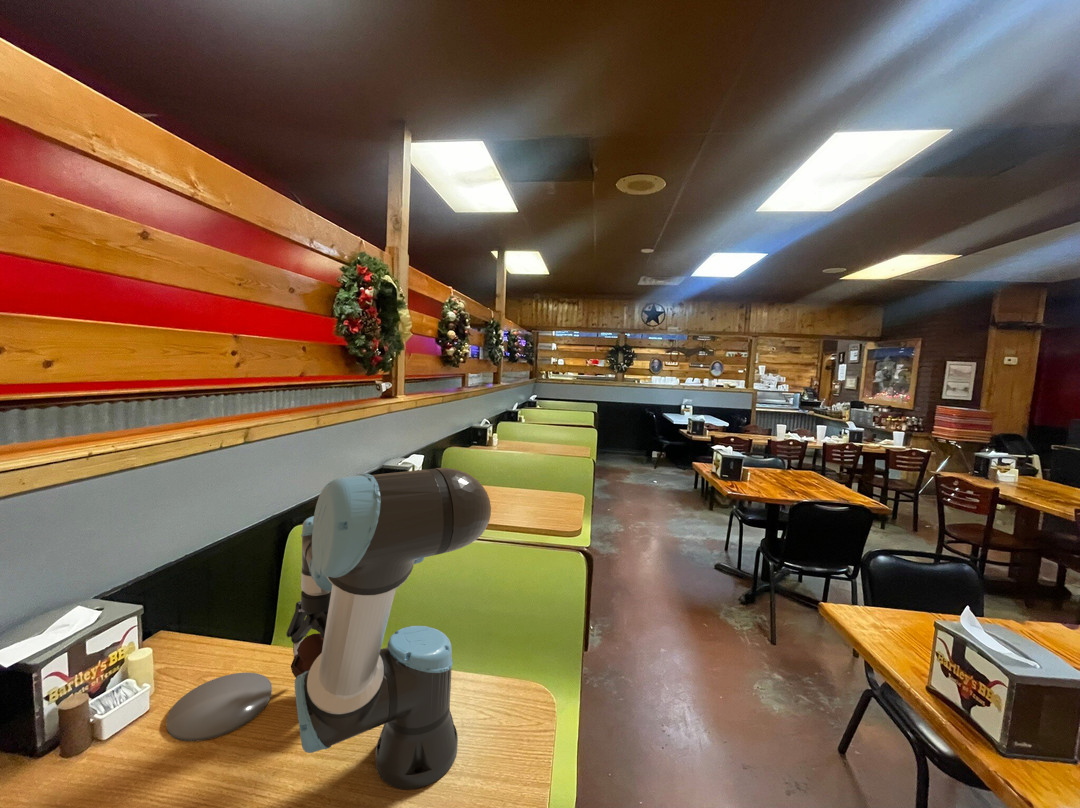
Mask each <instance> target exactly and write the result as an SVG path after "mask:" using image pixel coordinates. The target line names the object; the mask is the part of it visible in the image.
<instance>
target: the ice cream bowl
mask: <svg viewBox="0 0 1080 808" xmlns="http://www.w3.org/2000/svg"><path fill="white" fill-rule="evenodd" d="M323 642H324V638H322V636H321V634H320V633H319V632H318V633H312V634H309V635H307V636H306V637H304V638H303V640H302V641H301V643H300V644H299V647H298V649H297V652H298V654H297V655H295V656H294V655H293V658H292V659H293V660H292V662H291V665H290V669H291V673H292V674H293V676H294V678H296V677H297V676H298V675H300V674H303V673H304V672H305V671H309V670H310V668H311V666H312V664H313V663H314V661H315V660H316V658H317V657H318V656H319V655H320V654H321V653H322V648H323Z"/></svg>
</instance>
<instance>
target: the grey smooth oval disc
mask: <svg viewBox="0 0 1080 808" xmlns="http://www.w3.org/2000/svg"><path fill="white" fill-rule="evenodd" d="M272 688H273V687H272V683H271V680H270V679H269V678H268V677H267V676H265V675H263V674H260V673H257V672H236V673H231V674H225V675H223V676H219V677H216V678H214V679H211V680H208V681H206V682H204V683H202V684H200V685H198V686H196V687H195V688H193V689H191V690H189V692H187V693H185V694H184V695H183V696H182V697H180V698H179V699H178V700H177V701H176V702H175V703H174V705H173V706H172V707H171V708H170V710H169V712H168V714H167V716H166V720H165V721H166V730H167V733H168V734H169V736H170V737H172V738H174V739H176V740H178V741H182V742H200V741H201V742H202V741H207V740H211V739H215V738H218V737H221V736H225V735H227V734H229V733H232V732H234V731H235V730H238V729H240V728H242V727H243V726H245V725H246V724H248V723H250V722H251V721H253V719H255V718H256V717H257V716H258V715H259V714H260V713H262V712H263V710H264V709H265V708H266V707H267V705H268V704H269V702H270V700H271V697H272V692H273V689H272Z"/></svg>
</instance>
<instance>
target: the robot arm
mask: <svg viewBox="0 0 1080 808" xmlns="http://www.w3.org/2000/svg"><path fill="white" fill-rule="evenodd" d="M491 516H492V506H491V500H490V497H489V494H488V492H487V491H486V489H485V487H484V485H482V484H481V482H480V481H479V480H477V478H475V477H474V476H472V475H471V474H469V473H467V472H466V471H462V470H459V469H456V468H451V467H450V468H447V467H436V468H430V469H429V468H428V469H417V470H409V471H399V472H389V473H380V474H379V473H378V474H371V473H365V472H364V473H363V472H362V473H358V474H356V475H351V476H346V477H345V476H344V477H339V478H335V479H333V480H331V481H329V482H328V483H327V484H326V485H325V486H324V487H323V489H322V490H321V492H320V494H319V496H318V498H317V502H316V505H315V510H314V513H313V516H310V517H307V518H306V519H305V520H303V523H302V529H301V530H302V531H301V535H300V537H301V573H300V575H301V579H300V581H301V582H300V589H301V593H300V600H299V601H297V602H295V609H294V613H293V615H292V618H291V621H290V624H289V626H288V628H287V630H286V637H287V638H291V639H290V640H291V642H292V644H293V645H292V648H293V649H292V654H293V657H294V656H295V655H297V654H298V652H297V649H298V647H299V644H300V643H301V641H302V640H303V639H304V638H305V637H307V636H308V634H309V632H310V631H311V630H315V631H317V632H318V633H320V634H321V636H322V638H324V642H323V648H322V653H321V654H320V655H319V656H318V657H317V658H316V660H315V661H314V663H313V664H312V666H311V668H310V670H309V671H305V672H304V673H303V674H300V675H298V676H297V677H295V679H294V693H295V695H294V696H295V704H296V705H295V706H296V711H297V720H298V726H299V727H298V728H299V736H300V743H301V748H302V750H303V751H304V752H305V753H308V754H311V753H315V752H319V751H321V750H328V749H330V748H332V746H335V745H337V744H339V743H341V742H344V741H346V740H348V739H350V738H351V739H352V738H354V737H356V736H358V735H361V734H363V733H365V732H368V731H371V730H373V729H376V728H377V727H378V728H379V727H380V726H382V725H383V726H382V729H381V732H380V735H379V737H378V740H377V743H376V748H375V760H374V762H375V764H374V765H375V770H376V772H377V775H378V776H379V778H380V779H381V780H382V781H383V782H384V783H386V784H387V785H388V786H391V787H393V788H396V789H400V790H416V789H420V788H421V789H422V788H424V787H426V786H429V785H431V784H433V783H435V782H437V781H438V780H439V779H441V778H442V777H444V775H446V773H448V771H449V770H450V769H451V767H452V766H453V764H454V763H455V759H456V757H457V753H458V746H459V745H458V743H459V742H458V741H459V739H458V736H459V735H458V732H457V727H456V725H455V724H454V719H453V715H452V711H451V709H450V708H451V691H452V690H451V689H452V668H453V664H454V663H453V662H454V661H453V655H452V653H453V652H452V650H453V649H452V643H451V641H450V639H449V637H447V634H445V633H444V632H442V631H441V630H439V629H436V628H434V627H430V626H425V625H411V626H406V627H403V628H400V629H398V630H396V631H395V632H394V633H393V634H392V635H391V636H390V637H389V639H388V642H387V647H384V648H383V647H382V646H383V642H384V638H385V633H386V629H387V627H388V621H389V618H390V614H391V612H392V611H391V610H392V606H393V602H394V599H395V595H396V591H397V589H398V588H400V587H401V586H402V585H403V584H404V583H405V582H406V581H407V579H408V578H409V577H410V575H411V574H412V571H413V568H414V565H417V564H420V563H422V562H423V561H424V559H425V558H428V557H433V556H437V555H441V554H442V555H443V554H446V553H450V552H453V551H457V550H459V549H462V548H465V547H467V546H469V545H471V544H472V543H474V542H476V541H477V540H478V539H479V538H480V537H481V536H482V535H483V534H484V532H485V531H486V529H487V528H488V525H489V522H490V520H491Z"/></svg>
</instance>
